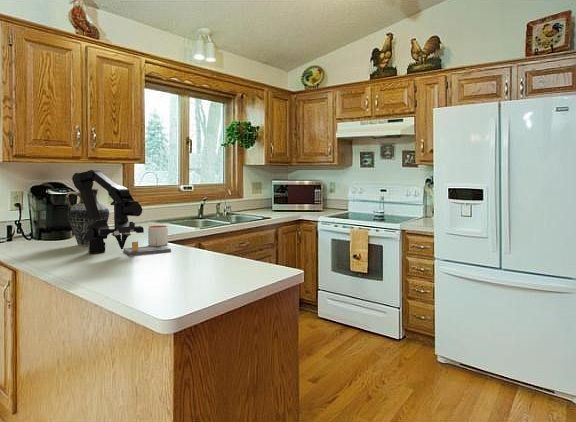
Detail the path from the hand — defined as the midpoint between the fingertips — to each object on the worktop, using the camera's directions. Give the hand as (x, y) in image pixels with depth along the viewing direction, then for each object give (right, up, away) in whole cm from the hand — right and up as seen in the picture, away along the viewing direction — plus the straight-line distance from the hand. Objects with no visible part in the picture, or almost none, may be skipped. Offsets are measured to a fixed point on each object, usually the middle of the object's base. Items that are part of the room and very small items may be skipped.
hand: (121, 249), depth 183 cm
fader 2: (+11, 0, +17) cm, 21 cm away
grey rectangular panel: (+8, -2, +11) cm, 13 cm away
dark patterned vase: (-29, -1, +27) cm, 39 cm away
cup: (+7, -1, +29) cm, 30 cm away
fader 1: (+5, -1, +3) cm, 6 cm away
